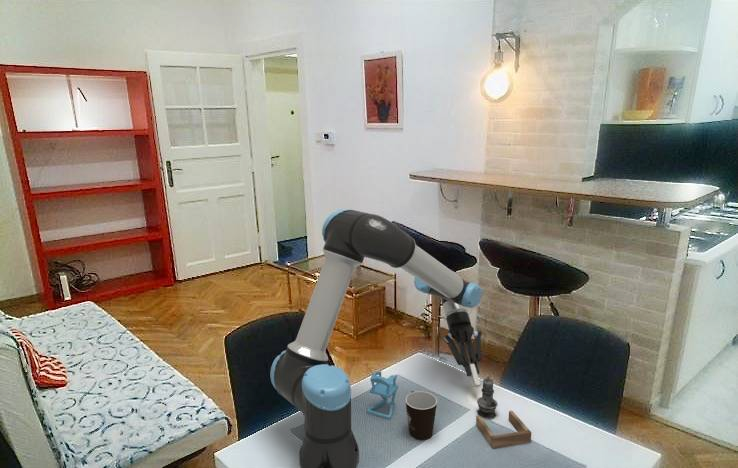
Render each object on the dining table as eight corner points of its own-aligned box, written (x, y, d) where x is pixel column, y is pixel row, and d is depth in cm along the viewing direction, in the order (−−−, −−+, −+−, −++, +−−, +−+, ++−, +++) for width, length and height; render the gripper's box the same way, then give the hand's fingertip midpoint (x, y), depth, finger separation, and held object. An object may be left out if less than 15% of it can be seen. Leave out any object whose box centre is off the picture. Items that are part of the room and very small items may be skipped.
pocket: (475, 425, 127) (476, 415, 126) (511, 419, 129) (512, 410, 129) (492, 448, 118) (492, 438, 117) (530, 442, 120) (531, 432, 119)
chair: (401, 405, 137) (401, 369, 135) (389, 420, 130) (389, 382, 128) (378, 399, 141) (378, 363, 138) (366, 413, 134) (365, 376, 131)
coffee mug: (435, 444, 119) (436, 411, 117) (403, 440, 121) (403, 407, 119) (438, 418, 131) (438, 387, 128) (408, 415, 132) (408, 384, 130)
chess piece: (477, 406, 136) (478, 369, 134) (497, 409, 134) (499, 372, 132) (475, 417, 131) (477, 379, 128) (496, 421, 129) (498, 383, 126)
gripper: (471, 317, 156) (491, 386, 143) (435, 321, 153) (453, 391, 141) (478, 308, 149) (500, 380, 137) (441, 312, 147) (460, 385, 134)
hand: (476, 385), depth 139 cm, fingers closed
